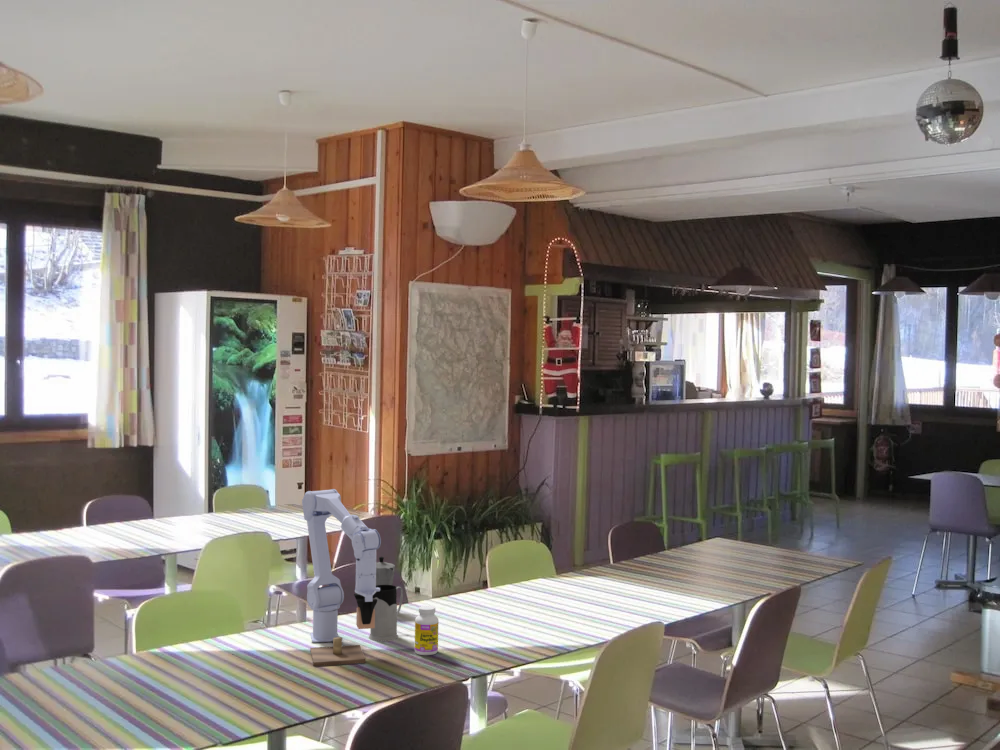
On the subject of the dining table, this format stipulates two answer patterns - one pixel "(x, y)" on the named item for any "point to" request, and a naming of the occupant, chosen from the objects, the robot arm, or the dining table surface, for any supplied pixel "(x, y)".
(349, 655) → the post base
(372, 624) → the peach tilted cube
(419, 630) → the supplement bottle
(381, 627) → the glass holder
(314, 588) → the robot arm
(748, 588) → the dining table surface
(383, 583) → the coffeepot
